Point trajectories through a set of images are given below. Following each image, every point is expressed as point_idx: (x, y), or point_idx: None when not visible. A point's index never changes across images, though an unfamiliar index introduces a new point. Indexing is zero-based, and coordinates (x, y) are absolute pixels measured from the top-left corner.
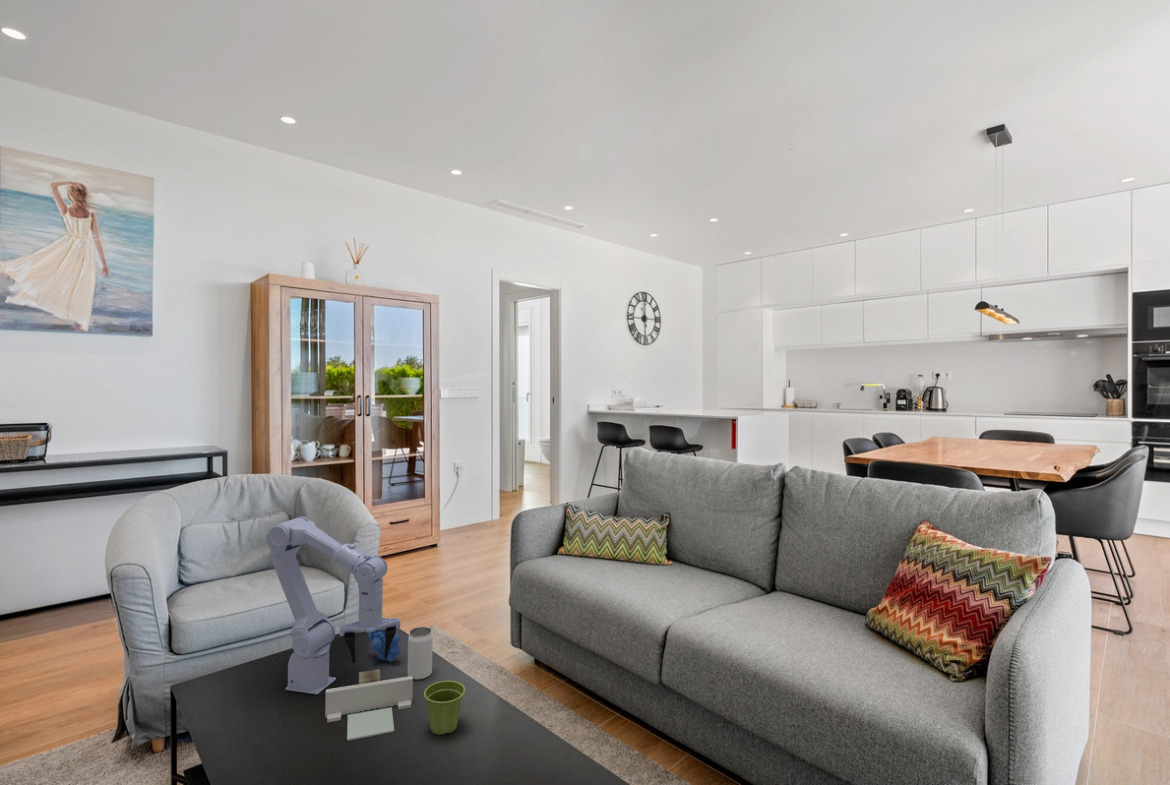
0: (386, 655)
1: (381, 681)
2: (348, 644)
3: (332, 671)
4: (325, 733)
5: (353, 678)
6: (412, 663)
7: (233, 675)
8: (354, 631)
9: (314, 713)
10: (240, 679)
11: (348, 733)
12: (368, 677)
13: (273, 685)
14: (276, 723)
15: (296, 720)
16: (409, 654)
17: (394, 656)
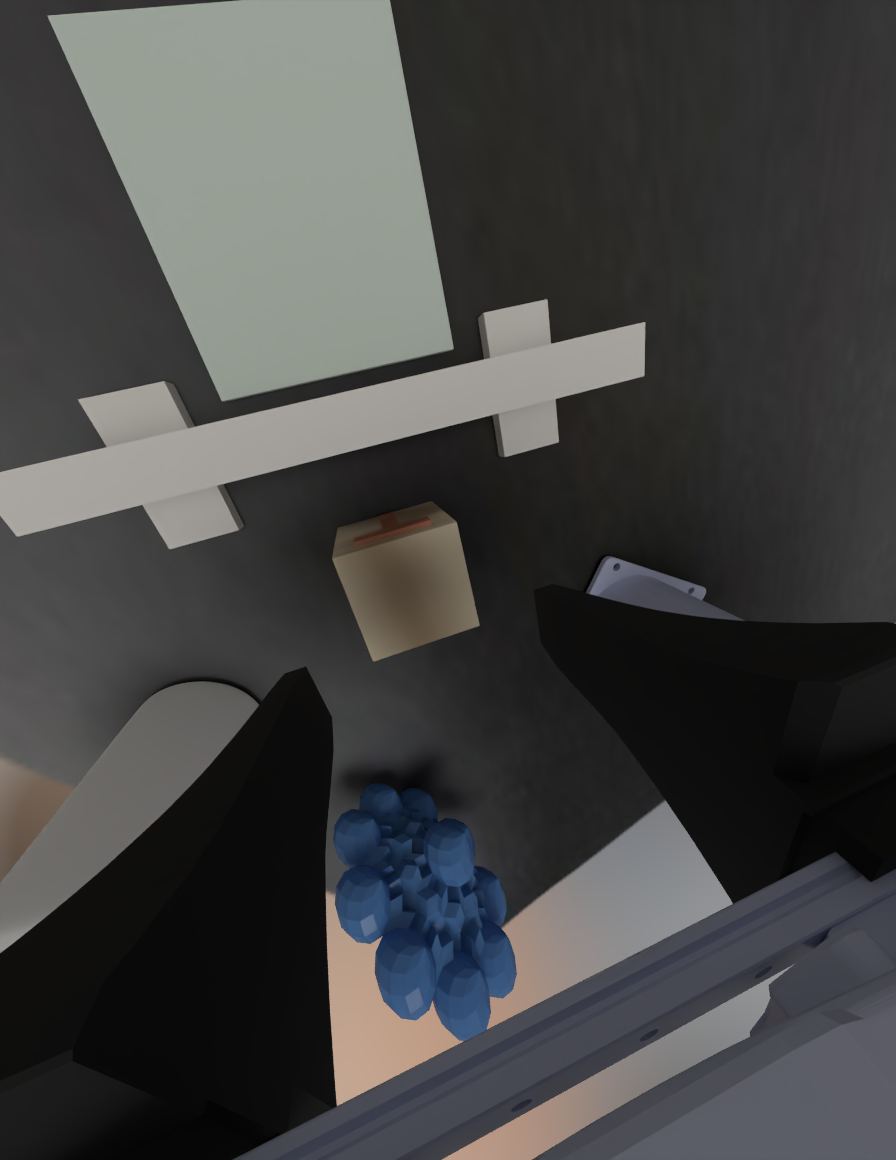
0: (281, 683)
1: (279, 455)
2: (775, 630)
3: (570, 705)
4: (529, 174)
5: (493, 671)
6: (191, 743)
7: None
8: (872, 893)
9: (599, 409)
10: None
11: (398, 85)
12: (413, 572)
13: None
14: (728, 343)
15: (661, 356)
16: None
17: (362, 806)
